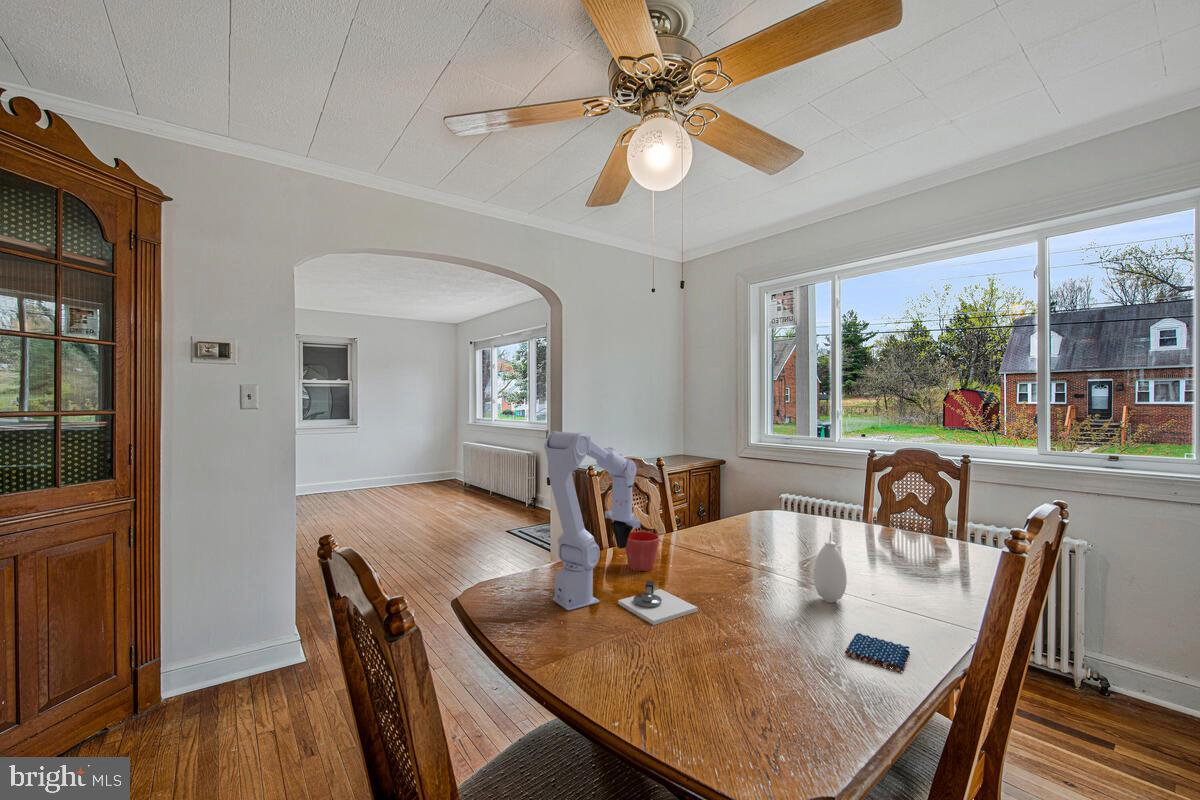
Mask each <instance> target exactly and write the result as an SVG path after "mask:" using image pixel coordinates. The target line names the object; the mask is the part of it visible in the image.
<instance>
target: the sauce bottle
mask: <svg viewBox="0 0 1200 800" xmlns="http://www.w3.org/2000/svg"><path fill="white" fill-rule="evenodd" d="M828 539H829V540H828V541H825V542H824V545H823V546H822V547H821V549H820V550H819V552H818V554H817V556H816V558H815V560H814V561H815V562H814V566H813V577H812V578H813V584H814V587H815V590H816V592H817V594H818V596H819V597H820V598H821V599H822V600H823V601H825V602H827V603H829V604H830V603H831V604H833V603H836V602H838V600H841V598H842V597H843V596H844V594H845V591H846V588H847V582H848V581H847V580H848V579H847V577H848V576H847V568H846V565H845V562H844V558H843V556H842V554H841V552H840V551H839V548H838V547H837V546H836V545H837V543H836V542H834V541H832V532H829V538H828Z"/></svg>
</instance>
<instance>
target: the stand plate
mask: <svg viewBox="0 0 1200 800" xmlns="http://www.w3.org/2000/svg"><path fill="white" fill-rule="evenodd" d="M653 594H654V595H657V596H659V597H660V598H661V599H662V603H661V604H660V605H659V606H656V607H642V606H639V605H636V604H635V603H634V597H635V596H636V595H633V596H630V597H628V596H627V597H625V598H622V599H618V600H617V605H619V606H620V607H623V608H624V609H626V610H627V611H629V612H630V613H633V614H634V615H636V616H637V617H639V618H641V619H642V620H643V621H645V622H648V623H649V624H651V625H652V626H656V625H659V624H662V623H665V622H667V621H671V620H674V619H678V618H681V617H684V616H688V615H690V614H693V613H697V612H699V611H698V609H699V607H698V606H696V605H694V604H691V603H690V602H688V601H686V600H684V599H682V598H680V597H677V596H676V595H674V594H671V593H669V592H667V591H666V590H663V589H660V588H659V589H654V593H653Z"/></svg>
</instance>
